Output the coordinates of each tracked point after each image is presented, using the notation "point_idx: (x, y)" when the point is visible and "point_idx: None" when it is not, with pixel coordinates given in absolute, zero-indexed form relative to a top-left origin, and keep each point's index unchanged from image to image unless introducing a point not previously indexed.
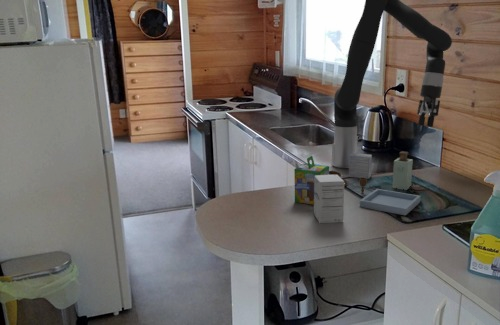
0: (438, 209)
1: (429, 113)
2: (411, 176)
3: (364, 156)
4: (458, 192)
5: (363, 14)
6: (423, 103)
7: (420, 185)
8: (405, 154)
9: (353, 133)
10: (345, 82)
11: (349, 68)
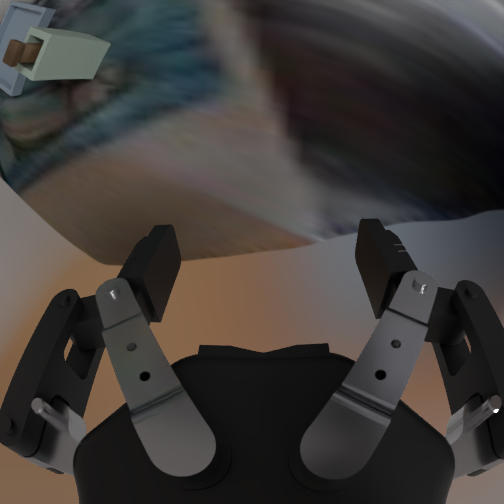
0: (2, 123)
1: (99, 303)
2: (72, 78)
3: None
4: (64, 186)
5: None
6: (301, 441)
7: (101, 105)
8: (5, 59)
9: None
10: None
11: None
